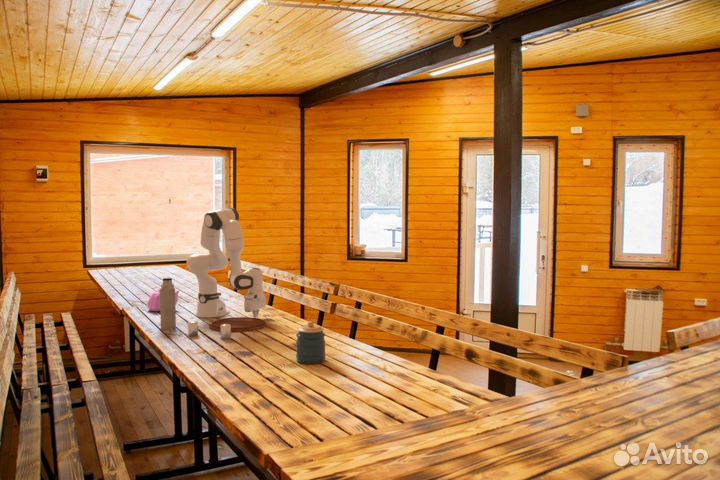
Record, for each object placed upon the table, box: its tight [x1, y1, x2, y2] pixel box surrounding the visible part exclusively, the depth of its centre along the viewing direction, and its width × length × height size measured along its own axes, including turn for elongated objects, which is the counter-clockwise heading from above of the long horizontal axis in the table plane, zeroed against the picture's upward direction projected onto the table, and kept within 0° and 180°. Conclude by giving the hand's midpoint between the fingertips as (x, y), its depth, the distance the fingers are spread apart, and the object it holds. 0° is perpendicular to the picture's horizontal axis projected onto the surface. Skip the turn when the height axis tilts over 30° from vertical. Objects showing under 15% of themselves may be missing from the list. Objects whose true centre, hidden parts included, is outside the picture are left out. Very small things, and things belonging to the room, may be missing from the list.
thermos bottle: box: [159, 277, 177, 330], centre depth 312 cm, size 8×8×28 cm
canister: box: [295, 321, 327, 365], centre depth 246 cm, size 13×13×18 cm
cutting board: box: [208, 316, 267, 333], centre depth 318 cm, size 32×32×3 cm
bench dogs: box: [187, 320, 232, 340], centre depth 292 cm, size 5×25×7 cm, turn 70°
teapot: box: [146, 288, 181, 312], centre depth 366 cm, size 22×22×14 cm
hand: (255, 317), depth 336 cm, fingers closed
